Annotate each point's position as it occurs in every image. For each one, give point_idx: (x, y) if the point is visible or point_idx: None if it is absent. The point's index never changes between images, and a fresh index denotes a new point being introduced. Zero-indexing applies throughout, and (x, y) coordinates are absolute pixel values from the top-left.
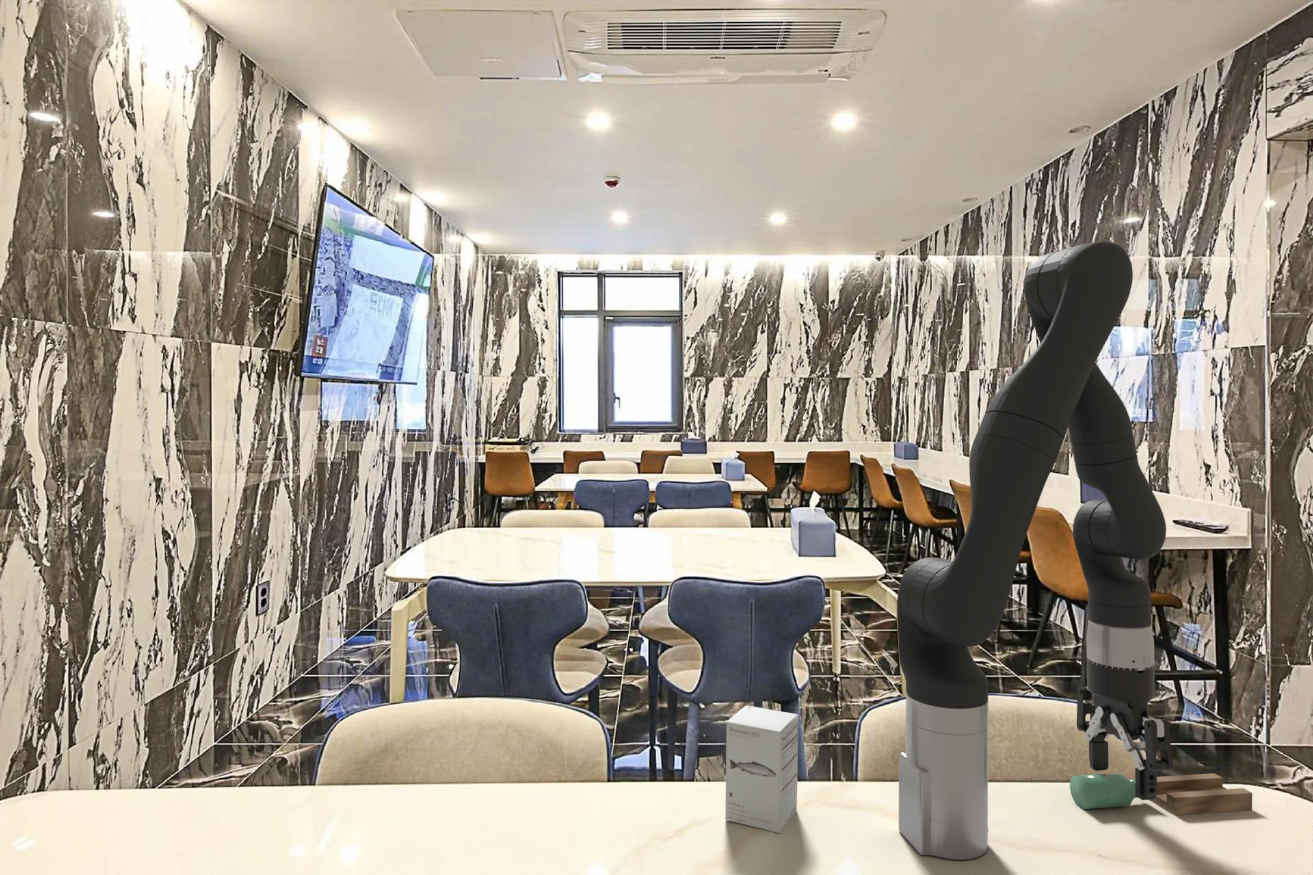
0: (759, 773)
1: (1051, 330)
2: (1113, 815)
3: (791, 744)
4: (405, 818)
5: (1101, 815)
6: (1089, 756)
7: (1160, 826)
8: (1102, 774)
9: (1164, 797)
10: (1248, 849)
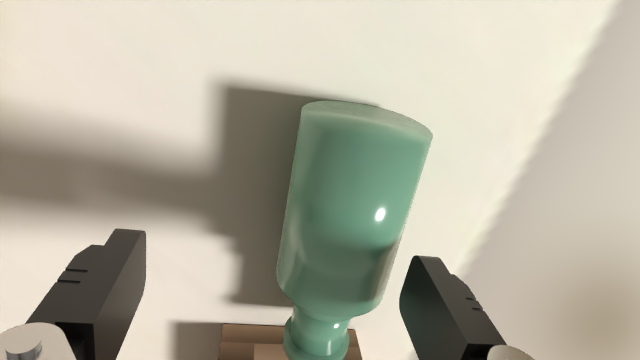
0: None
1: None
2: (266, 165)
3: None
4: None
5: (277, 126)
6: (468, 291)
7: (167, 243)
8: (364, 252)
9: (282, 357)
10: None
